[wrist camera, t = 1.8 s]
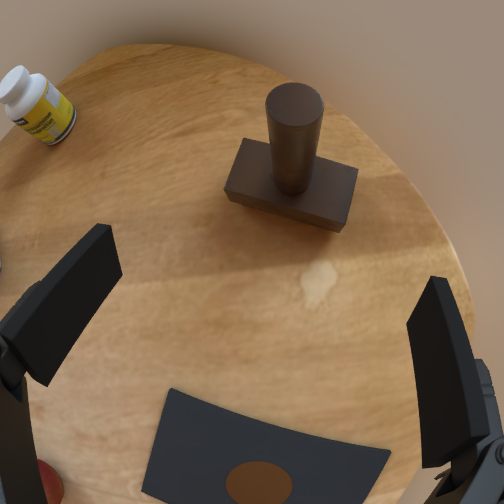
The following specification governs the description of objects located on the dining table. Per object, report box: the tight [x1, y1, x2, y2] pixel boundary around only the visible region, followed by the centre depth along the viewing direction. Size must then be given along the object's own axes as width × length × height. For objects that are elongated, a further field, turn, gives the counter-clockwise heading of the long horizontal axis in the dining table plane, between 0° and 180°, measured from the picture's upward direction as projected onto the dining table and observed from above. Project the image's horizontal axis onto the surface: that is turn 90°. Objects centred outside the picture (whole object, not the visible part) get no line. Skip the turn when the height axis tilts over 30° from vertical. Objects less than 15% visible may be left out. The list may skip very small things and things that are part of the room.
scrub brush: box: [224, 83, 358, 233], centre depth 21 cm, size 10×5×14 cm, turn 72°
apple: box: [37, 459, 64, 504], centre depth 22 cm, size 8×8×8 cm
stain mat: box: [141, 388, 391, 504], centre depth 23 cm, size 22×14×1 cm, turn 72°
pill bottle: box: [0, 66, 76, 145], centre depth 28 cm, size 6×6×12 cm
